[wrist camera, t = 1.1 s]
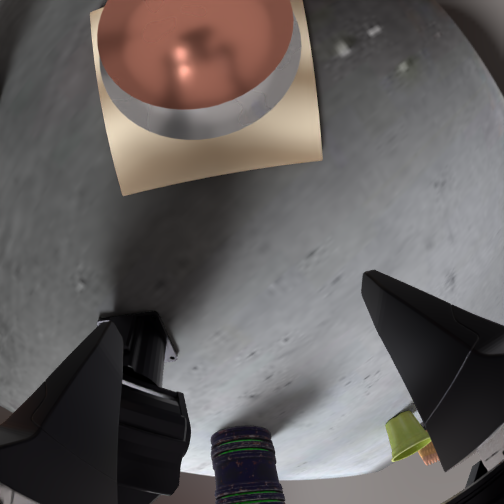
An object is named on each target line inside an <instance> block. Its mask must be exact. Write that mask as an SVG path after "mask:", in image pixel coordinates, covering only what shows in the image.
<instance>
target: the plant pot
mask: <svg viewBox="0 0 504 504" xmlns="http://www.w3.org/2000/svg"><path fill="white" fill-rule="evenodd" d="M386 430H387V433H388V437H389V441H390V445H391V448H392V457H393V458H392V462H395V461H399V460H401V459H404V458H406V457H408V456H410V455H412V454H414V453H415V452H417V451H419V450H420V449H422V448H423V447H425V446H426V445H427V444H429V443H430V442H431V439H430V436H429V434H428V432H426V431H425V430H424V428H423V427H422V426H421V424H420V423H419V422H418V420H417V419H416V418H415V416H414V415H413V414H412V412H410V411H405V412H402V413H400V414H399V415H398V416H397V417H395V418H392V419H390V420H389V421H388V422H387V424H386Z"/></svg>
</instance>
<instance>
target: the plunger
mask: <svg viewBox="0 0 504 504" xmlns="http://www.w3.org/2000/svg"><path fill="white" fill-rule="evenodd" d="M97 46H98V51H99V62H100V72H101V77H102V81H103V84H104V86H105V89H106V92H107V93H108V95H109V97H110V99H111V100H112V102H113V103H114V104H115V106H116V107H117V108H118V109H119V111H120V112H121V113H122V114H124V115H125V116H126V117H127V118H128V119H129V120H131V121H132V122H133V123H135V124H136V125H138V126H140V127H142V128H143V129H145V130H147V131H149V132H152V133H155V134H158V135H160V136H165V137H169V138H173V139H183V140H202V139H210V138H216V137H220V136H224V135H228V134H230V133H233V132H236V131H239V130H241V129H243V128H245V127H247V126H249V125H251V124H253V123H254V122H256V121H257V120H259V119H260V118H262V117H263V116H264V115H266V114H267V113H268V112H269V111H270V110H272V109H273V108H274V107H275V106H276V105H277V103H278V102H279V101H280V100H281V99H282V98H283V96H284V95H285V94H286V92H287V91H288V89H289V88H290V86H291V84H292V82H293V80H294V78H295V75H296V73H297V70H298V67H299V62H300V58H301V46H302V45H301V34H300V30H299V26H298V22H297V20H296V17H295V15H294V12H293V10H292V6H291V2H290V0H108V1H107V2H106V4H105V7H104V9H103V11H102V13H101V17H100V20H99V24H98V31H97Z"/></svg>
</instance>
